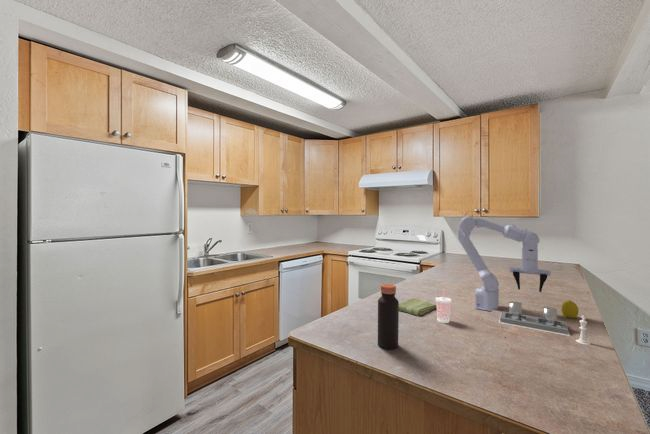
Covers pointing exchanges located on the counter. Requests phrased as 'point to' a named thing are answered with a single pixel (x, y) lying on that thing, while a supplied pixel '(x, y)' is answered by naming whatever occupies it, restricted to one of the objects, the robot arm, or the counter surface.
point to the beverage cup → (443, 308)
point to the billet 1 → (515, 310)
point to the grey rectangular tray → (534, 324)
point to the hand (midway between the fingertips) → (529, 290)
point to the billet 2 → (550, 316)
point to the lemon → (569, 309)
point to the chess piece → (583, 331)
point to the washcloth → (416, 306)
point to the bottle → (388, 317)
